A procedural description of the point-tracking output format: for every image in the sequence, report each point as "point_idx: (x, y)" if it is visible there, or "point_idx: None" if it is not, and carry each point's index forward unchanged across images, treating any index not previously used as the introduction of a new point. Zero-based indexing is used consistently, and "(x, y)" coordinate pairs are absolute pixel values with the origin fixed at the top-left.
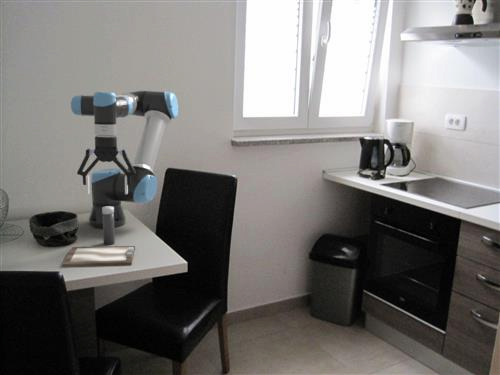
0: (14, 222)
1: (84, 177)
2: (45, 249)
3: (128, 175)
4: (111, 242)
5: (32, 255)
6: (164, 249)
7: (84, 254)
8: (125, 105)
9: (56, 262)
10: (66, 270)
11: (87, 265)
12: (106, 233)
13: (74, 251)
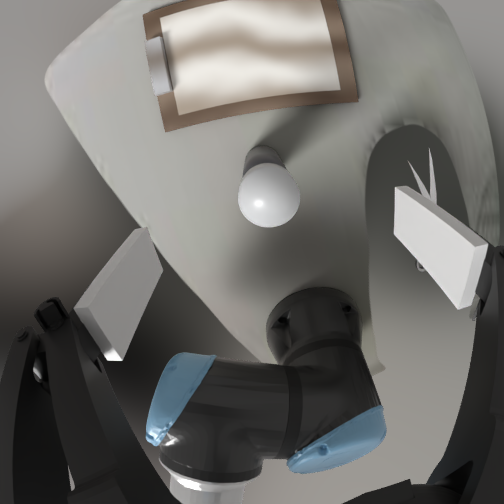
0: None
1: (488, 251)
2: (421, 109)
3: (44, 307)
4: (250, 151)
5: (431, 70)
6: (91, 144)
7: (298, 38)
8: None
9: (358, 13)
10: None
11: None
12: (266, 150)
13: (339, 64)
